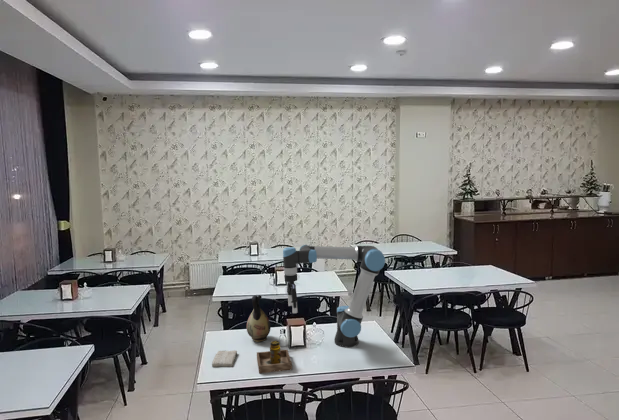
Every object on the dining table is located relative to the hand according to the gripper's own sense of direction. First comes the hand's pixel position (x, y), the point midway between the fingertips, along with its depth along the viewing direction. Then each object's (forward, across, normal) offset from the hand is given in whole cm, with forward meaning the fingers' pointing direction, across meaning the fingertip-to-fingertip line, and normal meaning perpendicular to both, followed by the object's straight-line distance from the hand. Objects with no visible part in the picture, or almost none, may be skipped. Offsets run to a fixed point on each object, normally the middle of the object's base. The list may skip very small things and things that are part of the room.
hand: (292, 309), depth 258 cm
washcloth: (+27, -3, -41) cm, 49 cm away
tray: (+27, +10, -14) cm, 32 cm away
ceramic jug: (+27, -27, -19) cm, 43 cm away
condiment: (+26, +10, -14) cm, 32 cm away
